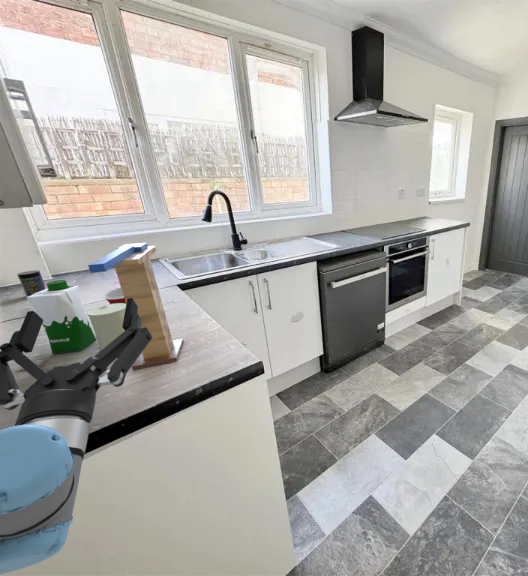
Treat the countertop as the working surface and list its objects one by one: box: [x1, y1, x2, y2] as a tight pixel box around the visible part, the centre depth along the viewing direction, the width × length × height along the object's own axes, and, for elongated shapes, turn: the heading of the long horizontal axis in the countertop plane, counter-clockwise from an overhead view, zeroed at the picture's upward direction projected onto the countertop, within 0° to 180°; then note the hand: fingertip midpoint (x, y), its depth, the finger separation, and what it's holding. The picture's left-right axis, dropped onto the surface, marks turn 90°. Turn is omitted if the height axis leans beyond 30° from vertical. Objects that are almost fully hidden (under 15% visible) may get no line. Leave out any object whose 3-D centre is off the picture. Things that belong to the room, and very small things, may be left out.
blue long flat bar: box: [87, 242, 149, 274], centre depth 72 cm, size 26×5×2 cm, turn 24°
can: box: [87, 303, 126, 351], centre depth 93 cm, size 9×9×12 cm
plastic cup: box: [102, 286, 126, 304], centre depth 107 cm, size 11×11×12 cm
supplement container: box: [16, 269, 48, 297], centre depth 136 cm, size 7×7×10 cm
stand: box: [111, 245, 185, 371], centre depth 82 cm, size 17×10×30 cm, turn 24°
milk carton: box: [26, 279, 97, 355], centre depth 90 cm, size 9×9×20 cm
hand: (86, 308), depth 55 cm, fingers open, 13 cm apart
